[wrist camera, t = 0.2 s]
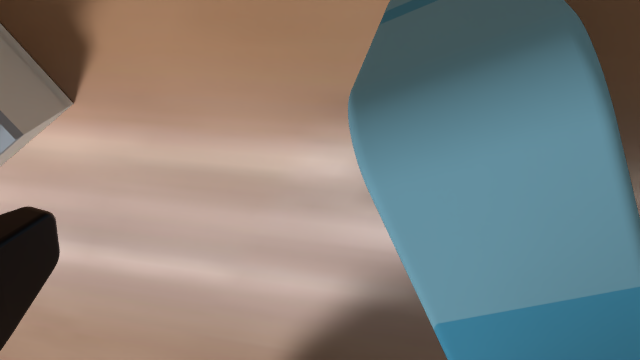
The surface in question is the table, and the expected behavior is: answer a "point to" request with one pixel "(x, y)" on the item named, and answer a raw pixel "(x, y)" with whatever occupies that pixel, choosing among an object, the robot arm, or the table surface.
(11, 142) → the carton lid
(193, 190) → the table surface
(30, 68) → the carton
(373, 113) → the data package
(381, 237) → the table surface
